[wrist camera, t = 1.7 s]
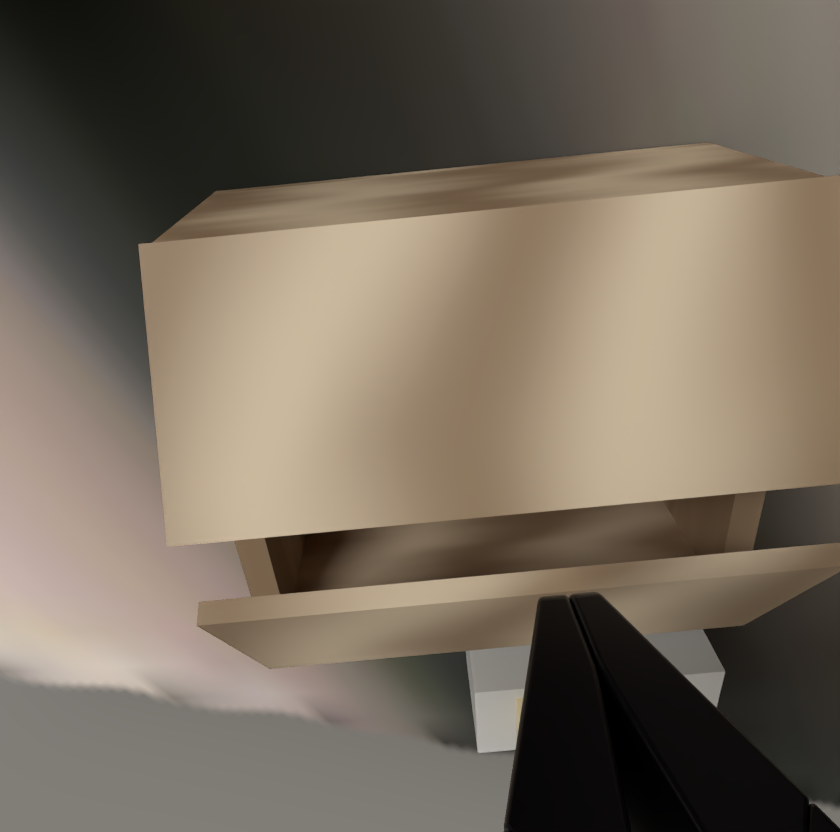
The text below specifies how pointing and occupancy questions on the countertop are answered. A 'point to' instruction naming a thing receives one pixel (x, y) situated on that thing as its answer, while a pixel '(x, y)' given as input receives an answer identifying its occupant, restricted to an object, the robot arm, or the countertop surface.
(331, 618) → the flap
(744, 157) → the cardboard box
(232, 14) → the countertop surface
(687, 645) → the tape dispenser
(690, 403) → the flap
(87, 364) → the countertop surface
